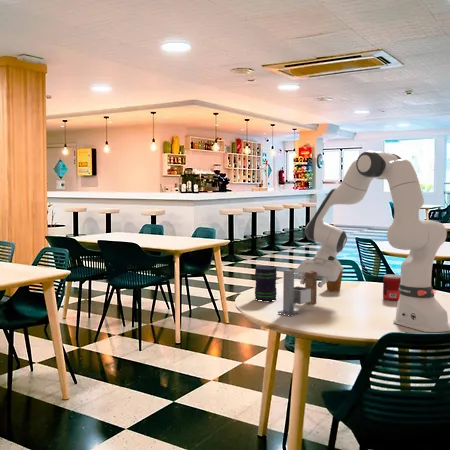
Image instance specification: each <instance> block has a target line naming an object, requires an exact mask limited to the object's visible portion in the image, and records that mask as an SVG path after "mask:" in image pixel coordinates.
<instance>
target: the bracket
mask: <svg viewBox="0 0 450 450" xmlns="http://www.w3.org/2000/svg"><path fill="white" fill-rule="evenodd" d="M282 289H283V290H282V291H283V295H282V296H283V299H282V301H283V302H282V304H283V305H282V307H283V308H282V309H283V310H280V311H279V310H278V311H277V314H278V313H281V314H285V315H289V316H290V317H292V316H291V315H294V316H296V315H295V314H297V315H299V314H300V312H299V311H297V310H294V307H295V306H294V305H297V304H298V305H302V304H303V305H304V304H307V302H311V288H305V287H304V286H295V270H294V269H290V268H289V269H284V270H283V288H282ZM289 316H288V317H289Z"/></svg>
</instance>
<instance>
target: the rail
mask: <svg viewBox="0 0 450 450" xmlns="http://www.w3.org/2000/svg"><path fill="white" fill-rule="evenodd" d="M304 280H305V284H304V286H305V288H311V302H307V303H306V304H308V305H315V304H317V289H318V288H317V287H318V279H317V272H313V271H308V272H305V279H304Z"/></svg>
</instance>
